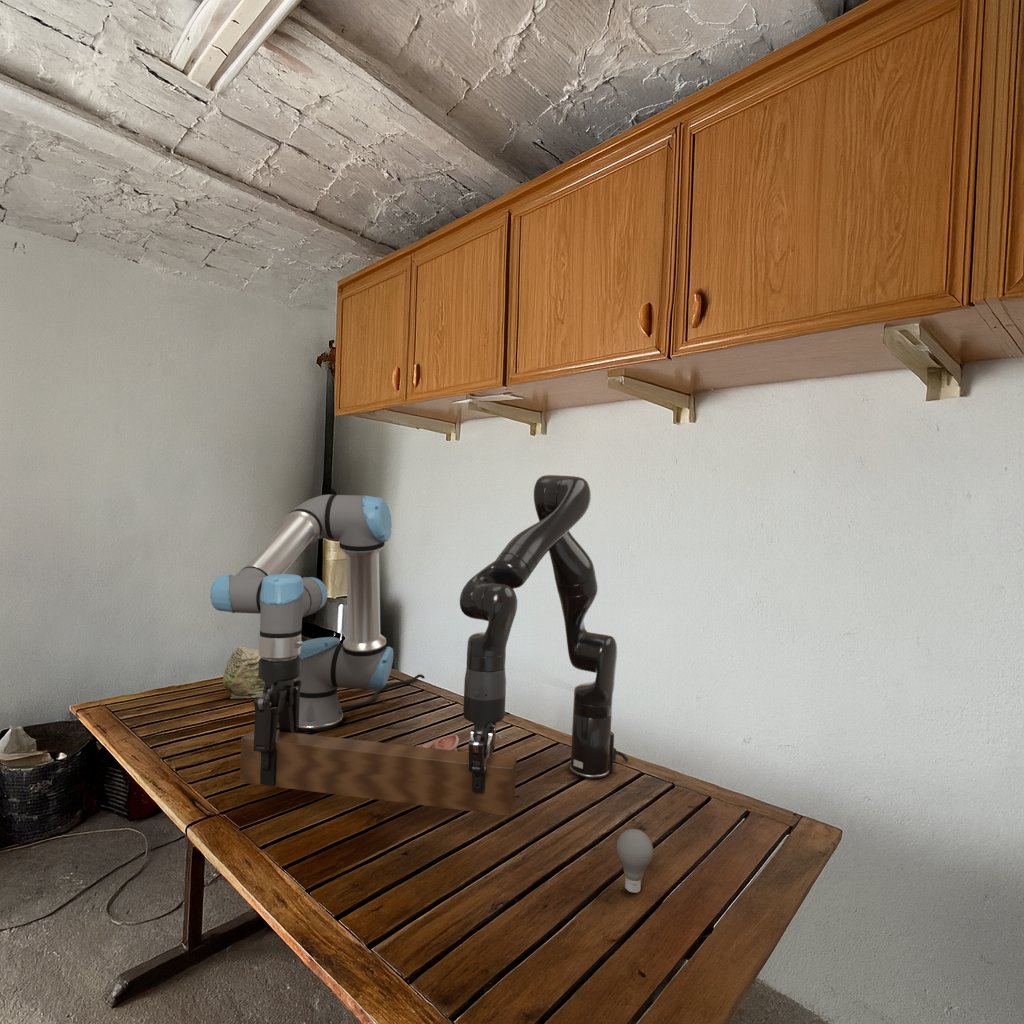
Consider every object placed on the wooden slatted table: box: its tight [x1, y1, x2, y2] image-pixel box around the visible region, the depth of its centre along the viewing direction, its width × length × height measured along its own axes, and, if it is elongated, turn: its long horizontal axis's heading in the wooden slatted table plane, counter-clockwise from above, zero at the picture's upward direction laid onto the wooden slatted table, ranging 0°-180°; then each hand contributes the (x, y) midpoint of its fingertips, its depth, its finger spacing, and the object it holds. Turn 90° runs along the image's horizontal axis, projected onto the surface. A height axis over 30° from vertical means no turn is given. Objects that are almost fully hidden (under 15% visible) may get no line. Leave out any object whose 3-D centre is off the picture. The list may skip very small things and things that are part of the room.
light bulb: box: [615, 828, 654, 894], centre depth 106 cm, size 6×6×10 cm
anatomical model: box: [416, 734, 460, 751], centre depth 158 cm, size 13×4×12 cm
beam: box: [239, 729, 518, 817], centre depth 118 cm, size 52×5×8 cm, turn 81°
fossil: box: [222, 646, 265, 699], centre depth 198 cm, size 9×18×15 cm, turn 132°
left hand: (275, 777), depth 121 cm, fingers closed on beam, 5 cm apart
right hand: (481, 784), depth 115 cm, fingers closed on beam, 5 cm apart
